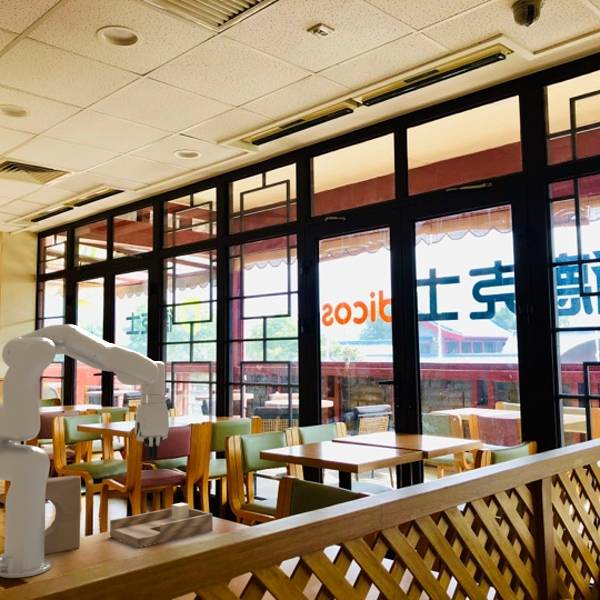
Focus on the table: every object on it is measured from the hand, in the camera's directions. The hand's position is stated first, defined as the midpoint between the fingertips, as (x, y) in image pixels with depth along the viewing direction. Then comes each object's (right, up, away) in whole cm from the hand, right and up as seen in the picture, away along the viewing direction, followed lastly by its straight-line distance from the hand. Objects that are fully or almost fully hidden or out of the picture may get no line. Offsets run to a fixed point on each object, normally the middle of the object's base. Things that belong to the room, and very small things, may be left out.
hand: (152, 458), depth 205 cm
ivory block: (+8, -21, +6) cm, 23 cm away
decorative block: (-22, -21, -20) cm, 37 cm away
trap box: (+4, -22, -4) cm, 23 cm away
